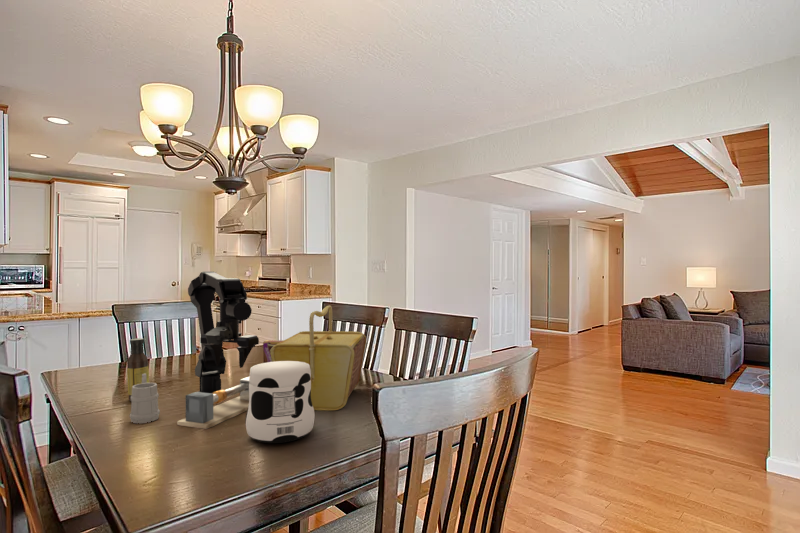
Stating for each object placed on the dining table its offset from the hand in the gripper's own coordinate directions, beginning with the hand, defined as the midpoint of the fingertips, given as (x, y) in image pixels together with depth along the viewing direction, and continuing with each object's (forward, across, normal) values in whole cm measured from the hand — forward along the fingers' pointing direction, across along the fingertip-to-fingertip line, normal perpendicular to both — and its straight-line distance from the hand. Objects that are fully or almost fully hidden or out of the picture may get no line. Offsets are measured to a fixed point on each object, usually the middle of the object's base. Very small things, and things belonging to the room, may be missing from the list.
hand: (229, 366), depth 153 cm
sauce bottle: (+12, -32, -6) cm, 35 cm away
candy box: (+12, -3, +30) cm, 33 cm away
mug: (+12, -14, -20) cm, 27 cm away
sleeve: (+11, +5, +6) cm, 13 cm away
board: (+12, +5, -5) cm, 14 cm away
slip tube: (+8, +5, -8) cm, 12 cm away
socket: (+11, +5, -19) cm, 22 cm away
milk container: (+12, +32, -19) cm, 40 cm away
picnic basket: (+12, +26, +14) cm, 32 cm away
